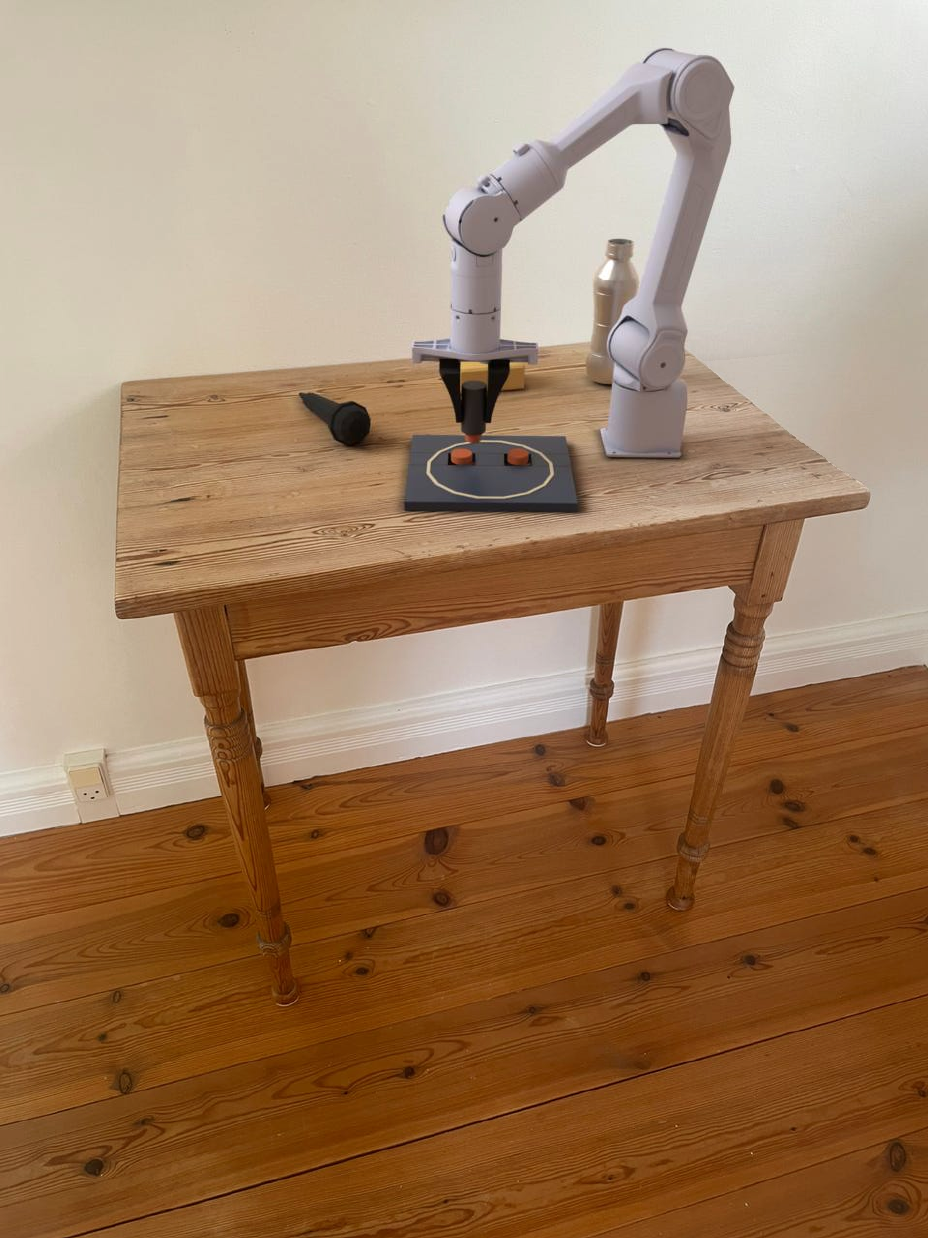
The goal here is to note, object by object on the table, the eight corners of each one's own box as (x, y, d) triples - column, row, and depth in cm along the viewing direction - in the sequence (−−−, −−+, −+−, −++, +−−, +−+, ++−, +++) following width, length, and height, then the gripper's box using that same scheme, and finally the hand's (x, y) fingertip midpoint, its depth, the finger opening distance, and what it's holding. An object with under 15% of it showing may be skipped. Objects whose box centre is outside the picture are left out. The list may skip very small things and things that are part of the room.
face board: (564, 444, 121) (565, 435, 120) (577, 512, 106) (578, 502, 106) (412, 442, 121) (412, 433, 120) (404, 510, 106) (404, 500, 106)
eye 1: (472, 455, 116) (472, 448, 115) (472, 465, 114) (472, 457, 113) (451, 455, 116) (451, 448, 115) (451, 464, 114) (451, 457, 113)
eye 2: (527, 455, 116) (528, 448, 115) (528, 465, 114) (529, 457, 113) (507, 455, 116) (507, 448, 115) (507, 465, 114) (508, 457, 113)
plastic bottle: (631, 389, 136) (648, 248, 124) (585, 389, 136) (598, 247, 124) (626, 373, 141) (642, 235, 129) (582, 372, 141) (593, 235, 130)
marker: (485, 434, 114) (486, 380, 110) (485, 444, 112) (487, 389, 108) (461, 434, 114) (461, 379, 110) (460, 444, 112) (461, 389, 108)
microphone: (293, 420, 133) (349, 458, 118) (275, 385, 130) (331, 419, 115) (324, 402, 135) (384, 437, 120) (308, 367, 131) (367, 398, 116)
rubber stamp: (514, 375, 140) (517, 295, 133) (524, 389, 136) (528, 307, 129) (450, 380, 138) (450, 299, 131) (458, 395, 134) (459, 312, 127)
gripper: (538, 296, 107) (531, 406, 115) (412, 294, 107) (415, 405, 115) (541, 315, 101) (535, 430, 109) (409, 314, 101) (412, 429, 109)
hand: (473, 419), depth 111 cm, fingers closed on marker, 3 cm apart
